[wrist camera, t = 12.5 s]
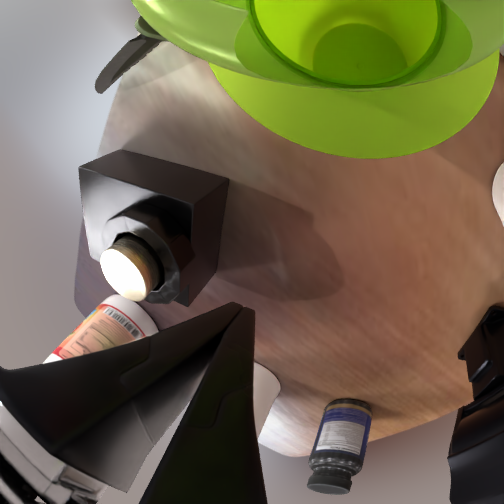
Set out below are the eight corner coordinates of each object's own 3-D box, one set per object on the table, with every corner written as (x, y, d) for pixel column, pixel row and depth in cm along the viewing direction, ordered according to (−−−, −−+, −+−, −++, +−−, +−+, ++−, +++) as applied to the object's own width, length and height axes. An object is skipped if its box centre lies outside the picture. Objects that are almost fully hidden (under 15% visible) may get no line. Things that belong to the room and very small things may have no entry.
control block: (235, 180, 21) (182, 221, 15) (220, 274, 26) (179, 327, 21) (120, 149, 23) (58, 175, 17) (123, 232, 28) (75, 268, 23)
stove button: (164, 246, 17) (144, 264, 16) (165, 292, 20) (148, 310, 18) (117, 225, 18) (96, 240, 16) (122, 271, 20) (105, 286, 19)
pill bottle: (359, 424, 32) (341, 498, 23) (318, 412, 33) (292, 487, 24) (382, 404, 28) (366, 490, 19) (336, 391, 29) (310, 479, 21)
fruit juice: (169, 353, 38) (56, 508, 16) (121, 333, 41) (14, 462, 19) (150, 302, 33) (1, 481, 11) (100, 285, 36) (-34, 426, 14)
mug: (246, 407, 39) (212, 475, 29) (198, 376, 38) (155, 443, 29) (294, 385, 31) (258, 476, 22) (235, 346, 31) (182, 437, 22)
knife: (230, -79, 6) (277, -51, 10) (69, 83, 18) (114, 72, 21) (261, -35, 8) (304, -10, 11) (82, 119, 19) (127, 105, 23)
